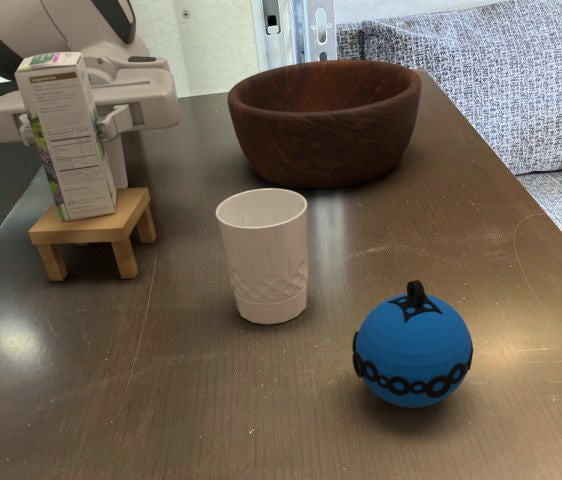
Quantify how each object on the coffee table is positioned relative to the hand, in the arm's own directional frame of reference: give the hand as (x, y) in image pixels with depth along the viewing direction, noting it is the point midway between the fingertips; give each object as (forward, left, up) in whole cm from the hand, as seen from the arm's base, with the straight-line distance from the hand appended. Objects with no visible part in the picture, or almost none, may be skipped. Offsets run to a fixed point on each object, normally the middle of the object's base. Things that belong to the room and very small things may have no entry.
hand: (66, 134), depth 61 cm
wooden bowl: (+24, +26, -14) cm, 38 cm away
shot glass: (-6, +21, -14) cm, 26 cm away
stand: (0, +1, -14) cm, 14 cm away
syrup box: (0, +1, -8) cm, 8 cm away
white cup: (+20, -10, -14) cm, 26 cm away
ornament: (+32, -23, -14) cm, 42 cm away
